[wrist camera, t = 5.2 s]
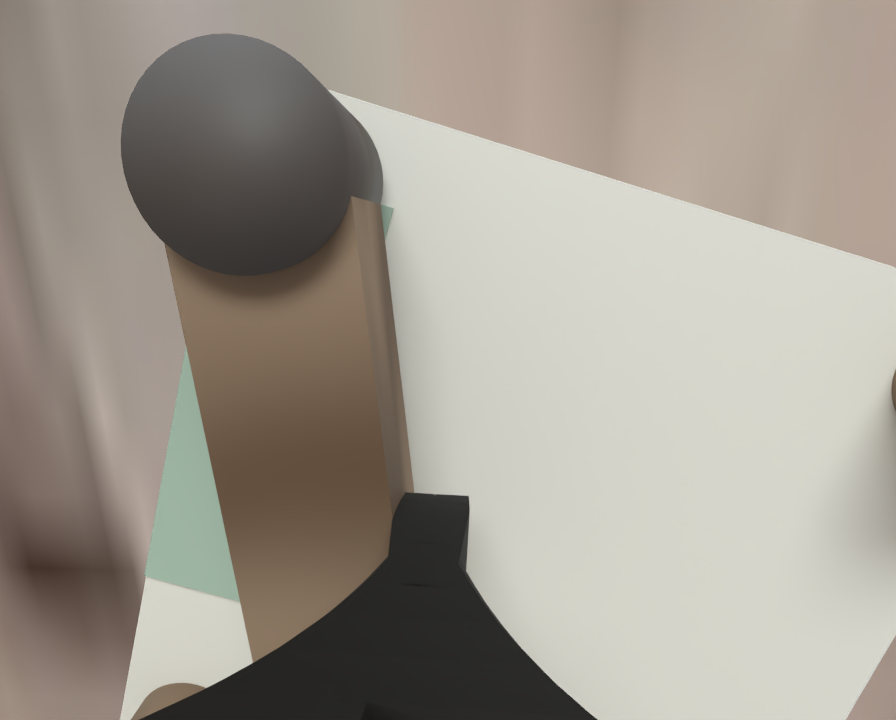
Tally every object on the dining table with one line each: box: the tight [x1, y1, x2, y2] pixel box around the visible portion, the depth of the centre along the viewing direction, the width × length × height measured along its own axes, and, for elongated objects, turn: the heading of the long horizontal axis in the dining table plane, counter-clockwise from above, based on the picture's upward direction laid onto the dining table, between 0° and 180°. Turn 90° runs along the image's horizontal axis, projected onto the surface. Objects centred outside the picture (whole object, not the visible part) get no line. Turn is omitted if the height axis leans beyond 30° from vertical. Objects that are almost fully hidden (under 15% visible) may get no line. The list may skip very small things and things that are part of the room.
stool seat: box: [120, 90, 896, 720], centre depth 11 cm, size 16×16×4 cm
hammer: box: [121, 34, 414, 663], centre depth 9 cm, size 9×3×3 cm, turn 5°
